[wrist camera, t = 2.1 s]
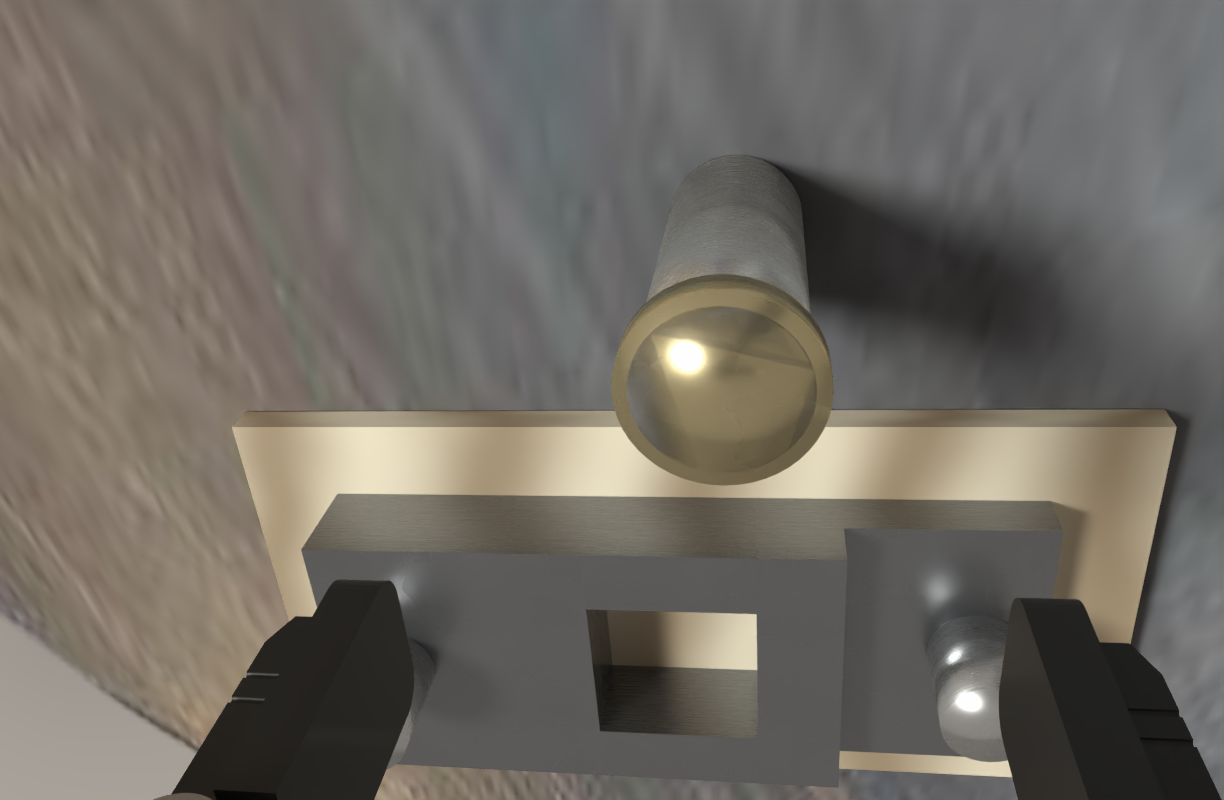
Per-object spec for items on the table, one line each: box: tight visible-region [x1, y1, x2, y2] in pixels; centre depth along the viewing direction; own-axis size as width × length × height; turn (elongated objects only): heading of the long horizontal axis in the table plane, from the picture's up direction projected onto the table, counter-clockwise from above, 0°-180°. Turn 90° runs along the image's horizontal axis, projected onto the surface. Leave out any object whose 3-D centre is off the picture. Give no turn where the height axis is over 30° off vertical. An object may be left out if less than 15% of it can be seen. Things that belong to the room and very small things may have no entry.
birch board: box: [232, 409, 1177, 777], centre depth 34 cm, size 28×14×1 cm, turn 95°
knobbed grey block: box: [301, 494, 1064, 787], centre depth 31 cm, size 22×9×6 cm, turn 95°
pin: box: [611, 155, 834, 486], centre depth 24 cm, size 4×4×10 cm
